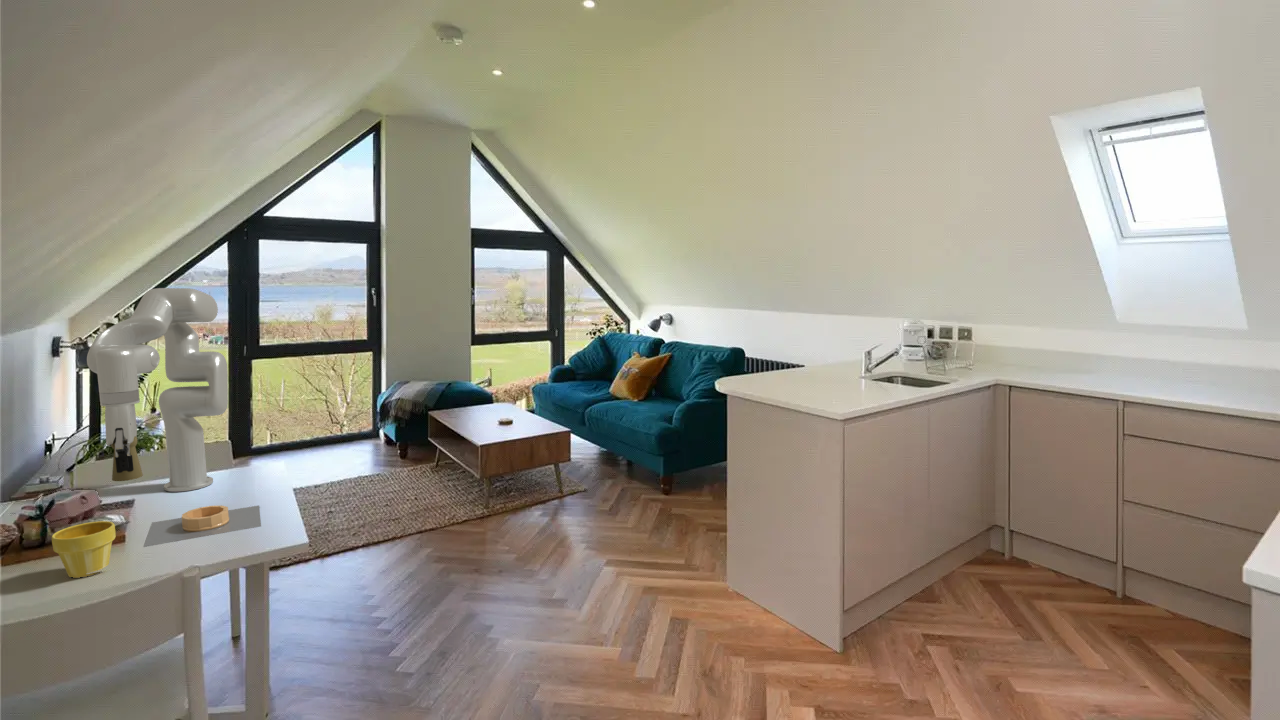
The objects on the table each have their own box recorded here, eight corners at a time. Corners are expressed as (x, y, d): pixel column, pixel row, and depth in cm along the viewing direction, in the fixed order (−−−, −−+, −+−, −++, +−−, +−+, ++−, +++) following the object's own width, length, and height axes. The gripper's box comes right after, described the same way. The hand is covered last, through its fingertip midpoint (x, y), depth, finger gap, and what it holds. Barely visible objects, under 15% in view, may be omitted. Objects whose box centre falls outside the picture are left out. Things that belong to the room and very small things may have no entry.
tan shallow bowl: (184, 522, 162) (183, 509, 162) (229, 514, 168) (228, 502, 167) (181, 534, 154) (180, 522, 154) (229, 526, 159) (228, 514, 159)
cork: (124, 482, 152) (120, 438, 151) (105, 480, 153) (101, 437, 152) (149, 474, 158) (145, 432, 156) (130, 473, 159) (126, 431, 158)
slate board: (152, 526, 162) (152, 522, 162) (259, 508, 175) (259, 505, 175) (143, 550, 147) (143, 546, 147) (261, 529, 160) (261, 526, 160)
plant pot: (52, 572, 136) (47, 530, 135) (113, 557, 144) (109, 516, 142) (60, 587, 129) (55, 543, 128) (123, 570, 137) (119, 528, 136)
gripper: (106, 394, 158) (113, 463, 160) (92, 405, 144) (100, 480, 146) (144, 391, 162) (150, 459, 164) (133, 402, 148) (140, 475, 150)
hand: (126, 468), depth 155 cm, fingers closed on cork, 4 cm apart
